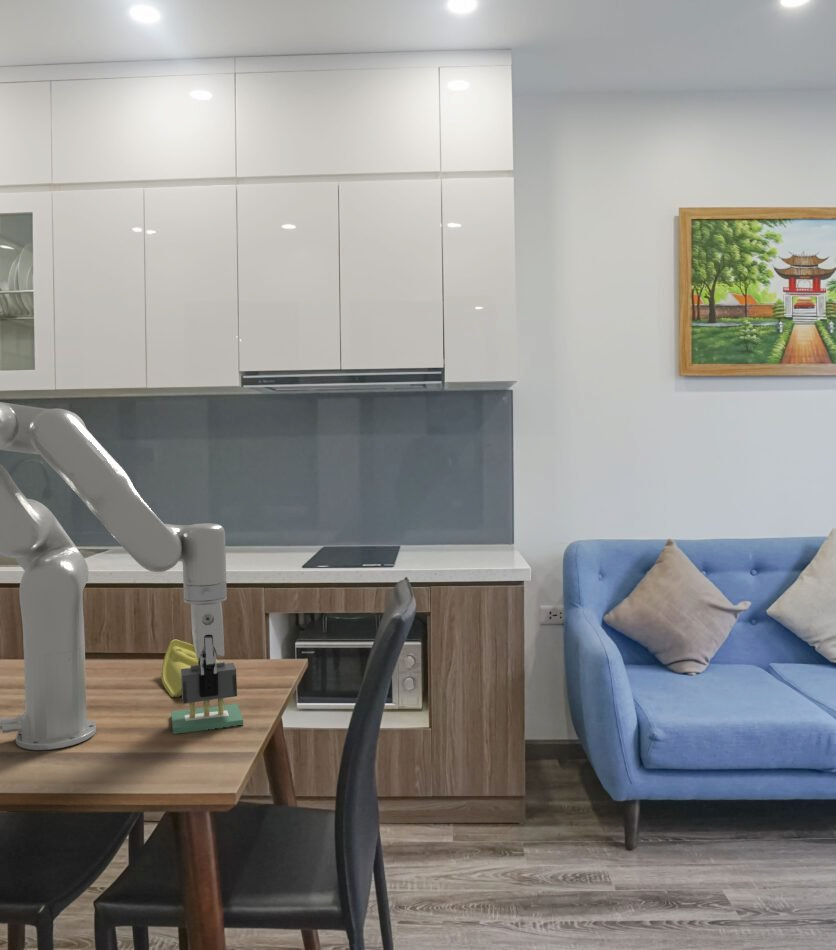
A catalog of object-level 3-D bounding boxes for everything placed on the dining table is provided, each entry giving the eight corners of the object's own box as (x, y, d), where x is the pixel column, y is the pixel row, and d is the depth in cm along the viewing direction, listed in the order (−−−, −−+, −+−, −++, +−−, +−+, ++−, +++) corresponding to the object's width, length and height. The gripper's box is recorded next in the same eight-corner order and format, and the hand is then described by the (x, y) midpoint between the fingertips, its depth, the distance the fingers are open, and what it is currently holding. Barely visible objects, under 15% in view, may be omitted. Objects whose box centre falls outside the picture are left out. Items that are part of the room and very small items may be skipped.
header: (173, 733, 135) (172, 708, 134) (171, 716, 143) (171, 692, 143) (243, 725, 139) (242, 700, 139) (237, 708, 147) (237, 685, 147)
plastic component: (234, 679, 158) (189, 665, 153) (218, 713, 157) (173, 700, 152) (208, 649, 175) (167, 636, 170) (193, 680, 174) (152, 667, 169)
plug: (183, 703, 137) (182, 672, 137) (181, 696, 141) (180, 665, 141) (237, 696, 140) (235, 665, 140) (234, 689, 145) (233, 659, 144)
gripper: (231, 599, 133) (234, 703, 134) (222, 582, 149) (224, 675, 150) (186, 603, 131) (189, 709, 132) (181, 585, 147) (184, 680, 147)
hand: (207, 690), depth 141 cm, fingers closed on plug, 4 cm apart
